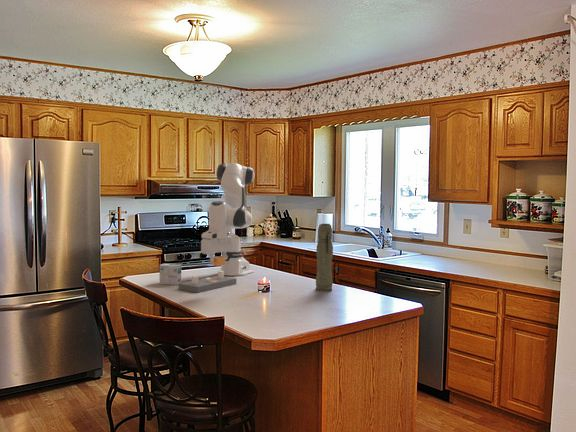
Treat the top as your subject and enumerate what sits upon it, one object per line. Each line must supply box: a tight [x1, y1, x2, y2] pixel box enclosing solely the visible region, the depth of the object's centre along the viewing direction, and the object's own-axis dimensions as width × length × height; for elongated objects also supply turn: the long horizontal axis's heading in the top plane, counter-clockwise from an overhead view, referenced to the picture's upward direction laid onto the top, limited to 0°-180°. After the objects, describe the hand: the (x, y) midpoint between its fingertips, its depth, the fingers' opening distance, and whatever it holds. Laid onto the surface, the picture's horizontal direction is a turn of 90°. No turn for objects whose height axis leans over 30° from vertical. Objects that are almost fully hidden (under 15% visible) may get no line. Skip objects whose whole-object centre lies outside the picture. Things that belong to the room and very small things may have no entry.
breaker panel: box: [178, 275, 237, 293], centre depth 283 cm, size 30×14×3 cm, turn 145°
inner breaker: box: [217, 270, 225, 279], centre depth 291 cm, size 2×2×4 cm
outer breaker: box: [191, 275, 199, 284], centre depth 275 cm, size 2×2×4 cm
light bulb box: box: [159, 263, 182, 286], centre depth 290 cm, size 11×7×11 cm, turn 84°
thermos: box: [315, 223, 334, 292], centre depth 279 cm, size 9×12×35 cm
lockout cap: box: [209, 256, 225, 267], centre depth 264 cm, size 5×5×4 cm
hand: (217, 261), depth 264 cm, fingers closed on lockout cap, 5 cm apart
